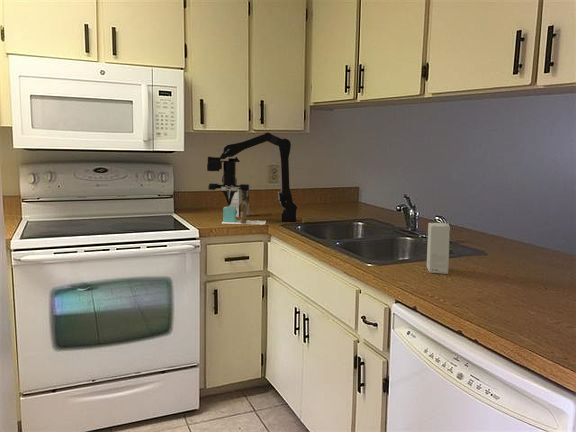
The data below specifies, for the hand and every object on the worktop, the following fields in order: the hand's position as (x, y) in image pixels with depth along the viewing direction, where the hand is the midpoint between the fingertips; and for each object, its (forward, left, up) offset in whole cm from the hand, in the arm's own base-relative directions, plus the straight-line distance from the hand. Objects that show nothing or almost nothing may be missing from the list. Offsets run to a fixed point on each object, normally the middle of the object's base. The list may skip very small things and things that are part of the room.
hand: (229, 205), depth 235 cm
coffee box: (-2, -19, -9) cm, 21 cm away
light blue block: (0, 0, -8) cm, 8 cm away
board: (-7, +1, -8) cm, 11 cm away
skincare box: (-77, +76, -9) cm, 109 cm away
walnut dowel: (-7, +4, -8) cm, 12 cm away
